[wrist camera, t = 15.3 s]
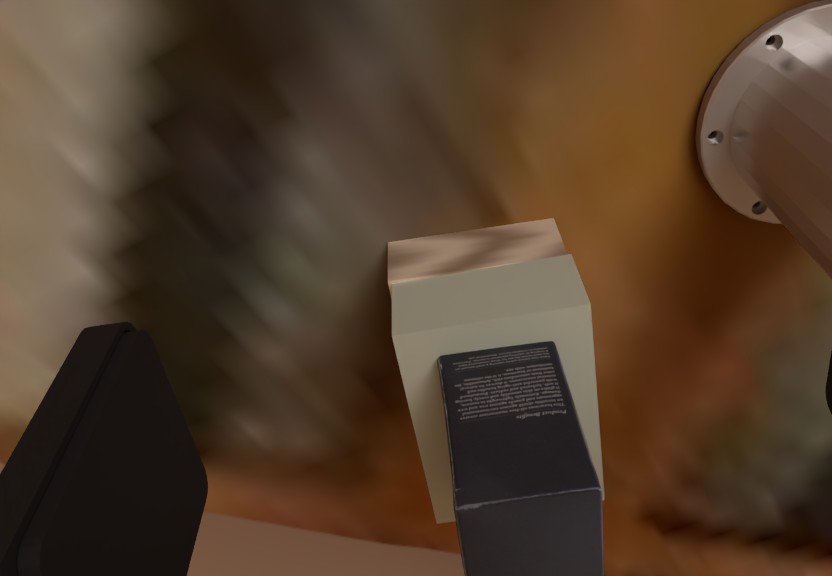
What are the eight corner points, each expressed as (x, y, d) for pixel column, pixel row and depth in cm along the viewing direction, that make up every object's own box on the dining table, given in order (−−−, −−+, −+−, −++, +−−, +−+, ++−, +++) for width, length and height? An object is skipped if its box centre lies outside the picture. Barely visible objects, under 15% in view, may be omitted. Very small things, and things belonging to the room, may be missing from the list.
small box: (569, 483, 46) (613, 650, 37) (457, 497, 46) (474, 666, 37) (561, 336, 40) (610, 491, 31) (433, 353, 41) (446, 512, 32)
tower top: (571, 254, 43) (590, 303, 39) (586, 440, 51) (604, 499, 47) (391, 283, 44) (391, 336, 40) (432, 463, 51) (436, 524, 47)
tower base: (551, 213, 48) (567, 255, 43) (564, 392, 55) (578, 442, 51) (387, 238, 48) (387, 281, 44) (421, 411, 56) (424, 462, 51)
